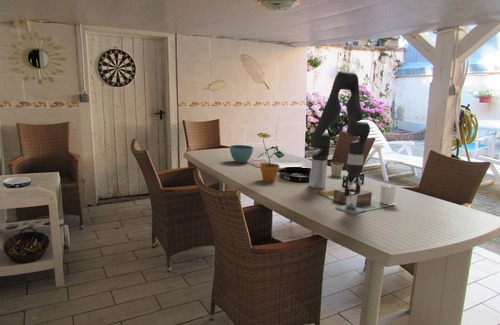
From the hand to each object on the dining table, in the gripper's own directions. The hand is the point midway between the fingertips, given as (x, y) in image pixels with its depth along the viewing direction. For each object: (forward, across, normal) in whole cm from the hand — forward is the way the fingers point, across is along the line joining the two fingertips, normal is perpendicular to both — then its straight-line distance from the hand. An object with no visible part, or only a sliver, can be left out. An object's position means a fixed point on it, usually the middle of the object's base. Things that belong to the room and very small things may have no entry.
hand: (352, 194), depth 189 cm
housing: (+8, -13, -9) cm, 18 cm away
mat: (+8, 0, 0) cm, 8 cm away
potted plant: (+8, -4, -67) cm, 68 cm away
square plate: (+8, -42, -90) cm, 100 cm away
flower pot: (+8, -56, -55) cm, 79 cm away
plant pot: (+8, -24, -124) cm, 127 cm away
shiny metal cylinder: (+7, 0, 0) cm, 7 cm away
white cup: (+8, -27, +3) cm, 28 cm away
